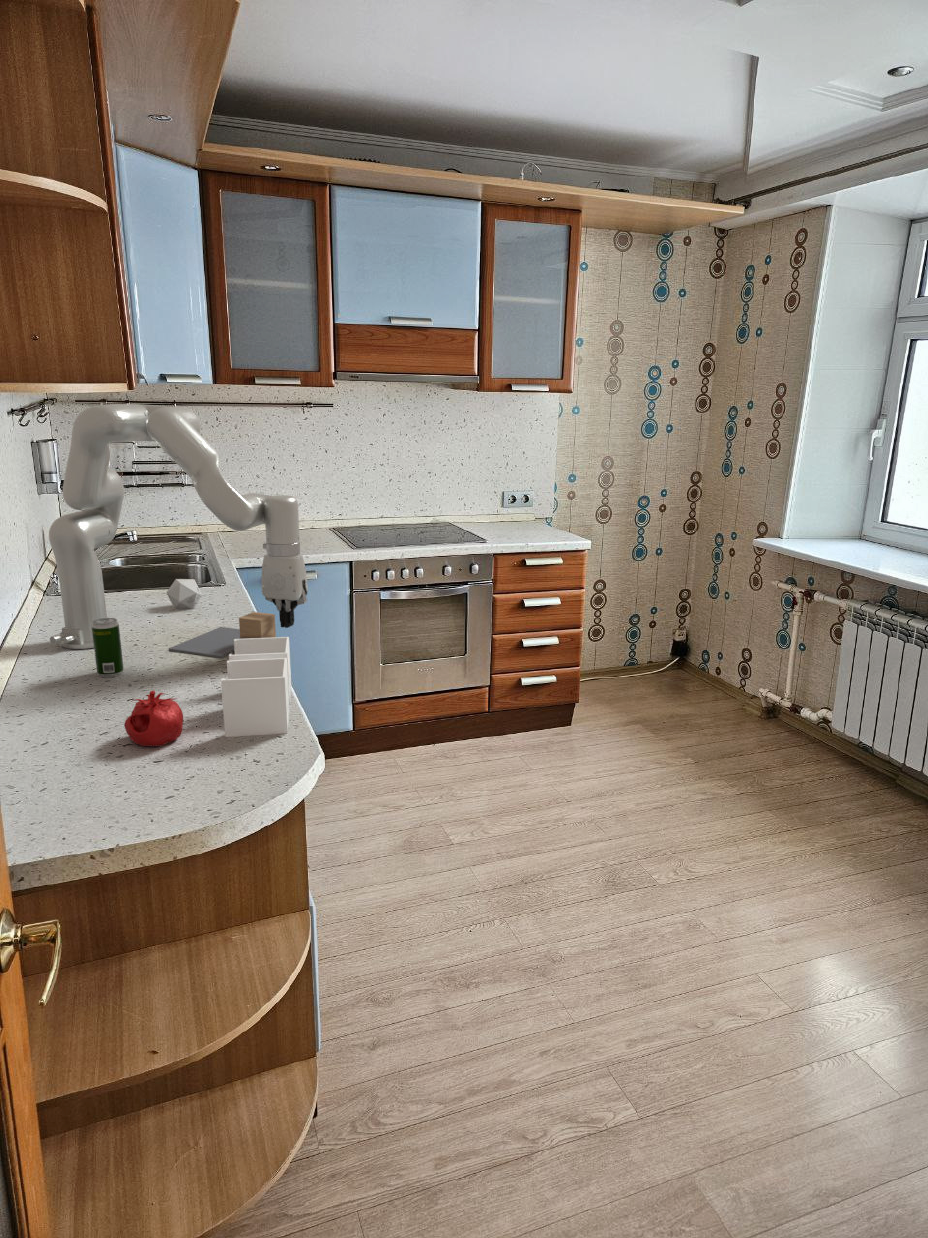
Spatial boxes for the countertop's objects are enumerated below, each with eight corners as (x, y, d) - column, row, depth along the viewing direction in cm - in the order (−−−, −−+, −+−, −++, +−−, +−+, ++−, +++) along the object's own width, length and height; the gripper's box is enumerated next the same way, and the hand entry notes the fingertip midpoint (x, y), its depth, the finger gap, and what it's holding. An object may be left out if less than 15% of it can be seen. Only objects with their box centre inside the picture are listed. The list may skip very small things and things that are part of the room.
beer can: (125, 675, 175) (119, 622, 172) (98, 679, 172) (92, 625, 169) (122, 668, 179) (116, 616, 176) (96, 671, 177) (90, 619, 174)
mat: (221, 657, 187) (220, 655, 187) (168, 650, 192) (168, 648, 192) (269, 634, 205) (269, 633, 205) (220, 628, 210) (220, 626, 210)
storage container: (287, 734, 146) (284, 677, 143) (225, 738, 144) (221, 680, 141) (291, 686, 170) (288, 636, 167) (237, 689, 168) (234, 639, 165)
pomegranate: (175, 723, 150) (171, 676, 147) (193, 742, 142) (189, 692, 140) (119, 736, 144) (114, 687, 142) (135, 756, 136) (129, 705, 134)
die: (182, 615, 224) (202, 585, 225) (156, 598, 224) (176, 568, 225) (192, 618, 233) (211, 589, 234) (166, 602, 233) (186, 573, 234)
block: (262, 652, 191) (260, 620, 189) (241, 650, 193) (238, 617, 191) (276, 645, 196) (274, 614, 194) (255, 643, 198) (253, 611, 196)
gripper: (246, 550, 184) (251, 626, 189) (303, 555, 179) (306, 633, 184) (265, 544, 191) (269, 619, 196) (320, 549, 186) (323, 625, 191)
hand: (287, 626), depth 190 cm, fingers closed
